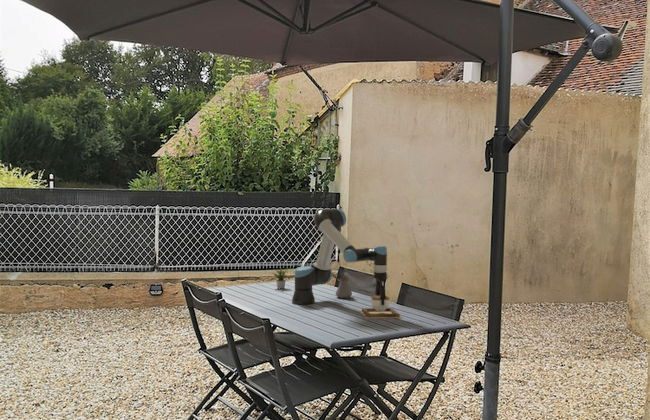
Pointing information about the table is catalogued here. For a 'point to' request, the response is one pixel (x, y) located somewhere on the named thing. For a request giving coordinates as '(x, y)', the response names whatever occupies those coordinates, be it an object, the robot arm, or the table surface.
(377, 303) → the lidded jar
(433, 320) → the table surface
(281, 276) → the house plant
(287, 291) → the table surface
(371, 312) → the wooden square tray
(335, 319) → the table surface
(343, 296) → the coffee pot
